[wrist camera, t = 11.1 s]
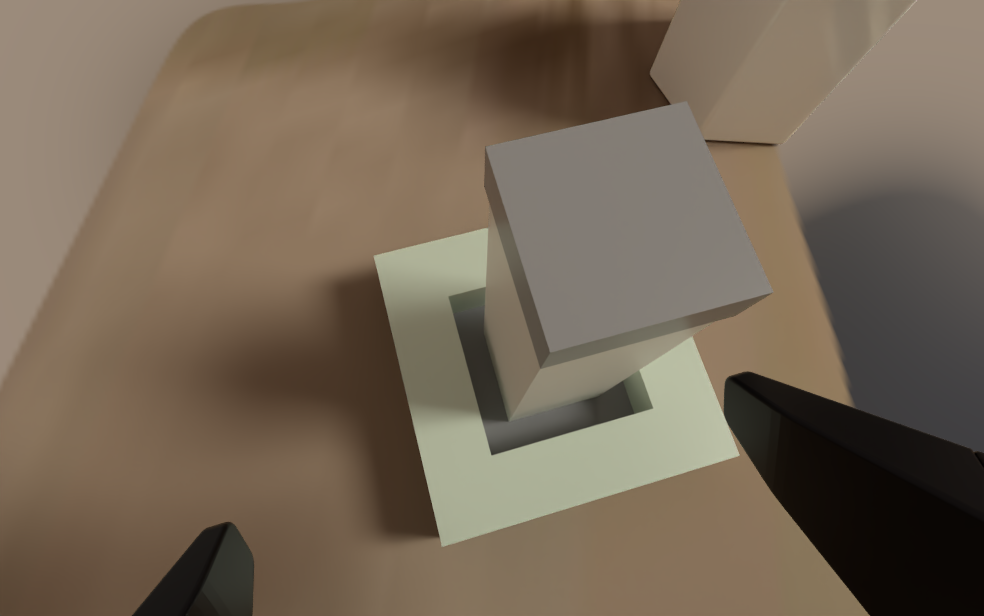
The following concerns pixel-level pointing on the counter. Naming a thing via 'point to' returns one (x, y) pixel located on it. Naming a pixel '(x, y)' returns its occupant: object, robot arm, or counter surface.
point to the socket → (536, 438)
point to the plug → (606, 254)
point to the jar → (765, 60)
